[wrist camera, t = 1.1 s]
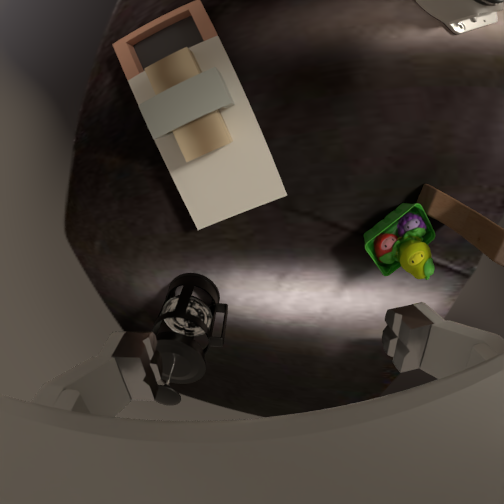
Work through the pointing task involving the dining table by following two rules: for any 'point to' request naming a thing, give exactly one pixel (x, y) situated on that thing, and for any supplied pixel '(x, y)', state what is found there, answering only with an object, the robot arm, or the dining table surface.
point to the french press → (186, 333)
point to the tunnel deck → (226, 163)
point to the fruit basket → (402, 242)
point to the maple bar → (199, 130)
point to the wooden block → (464, 222)
